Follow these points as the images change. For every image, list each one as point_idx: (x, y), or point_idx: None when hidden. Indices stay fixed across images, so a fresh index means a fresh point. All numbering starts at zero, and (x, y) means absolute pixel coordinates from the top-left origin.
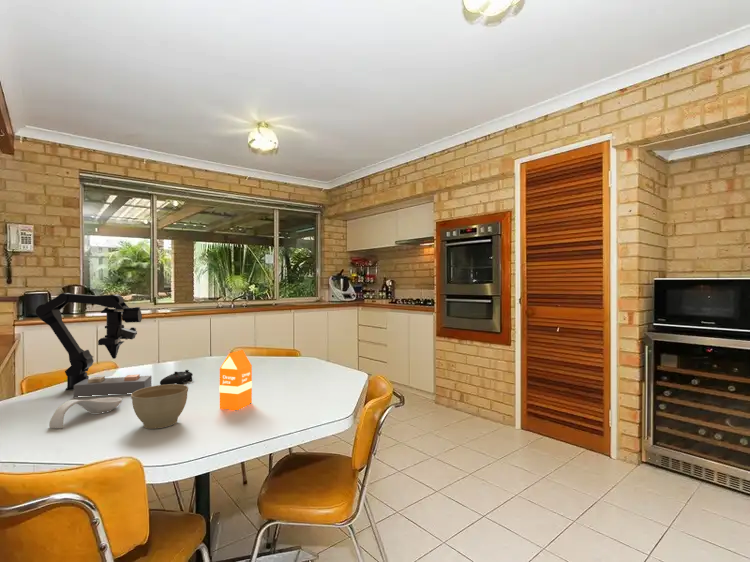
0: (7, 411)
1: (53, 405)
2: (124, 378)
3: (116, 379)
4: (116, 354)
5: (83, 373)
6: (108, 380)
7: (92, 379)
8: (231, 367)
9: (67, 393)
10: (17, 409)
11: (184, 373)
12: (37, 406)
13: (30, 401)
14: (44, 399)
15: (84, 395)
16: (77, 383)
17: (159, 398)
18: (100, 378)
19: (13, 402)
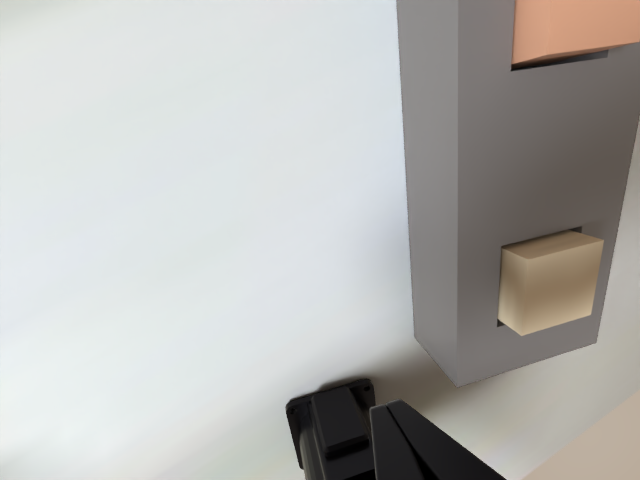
0: (624, 399)
1: (615, 306)
2: (628, 43)
3: (531, 153)
4: (412, 456)
5: (369, 477)
6: (545, 202)
7: (592, 288)
8: None
9: (436, 387)
10: (614, 388)
11: None
12: (604, 353)
13: (525, 427)
14: (512, 403)
15: None
16: (559, 352)
17: None
18: (593, 246)
19: (519, 467)
